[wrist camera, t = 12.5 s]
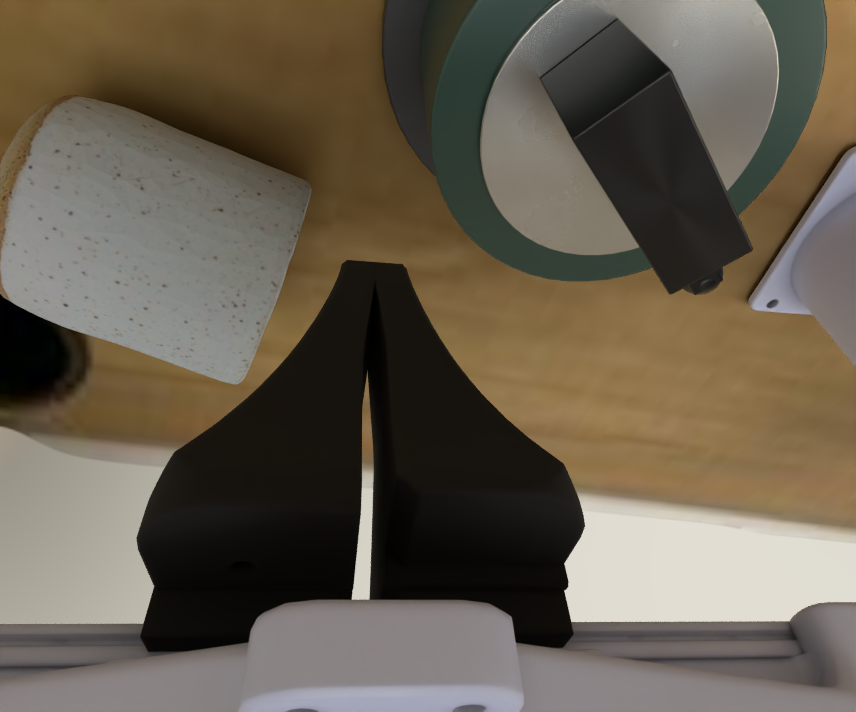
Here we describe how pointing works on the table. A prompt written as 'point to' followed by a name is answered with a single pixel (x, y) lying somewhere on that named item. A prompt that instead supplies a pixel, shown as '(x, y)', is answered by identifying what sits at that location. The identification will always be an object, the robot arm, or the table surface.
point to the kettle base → (406, 72)
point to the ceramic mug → (145, 234)
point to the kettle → (616, 127)
